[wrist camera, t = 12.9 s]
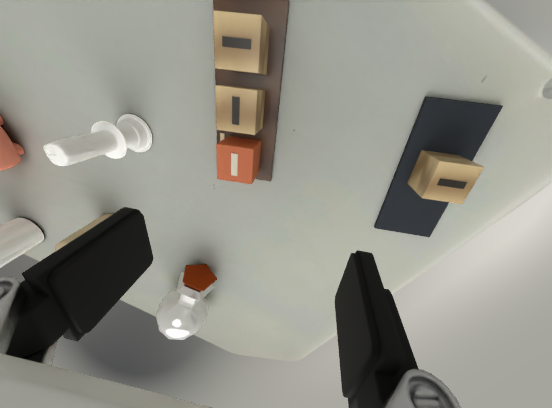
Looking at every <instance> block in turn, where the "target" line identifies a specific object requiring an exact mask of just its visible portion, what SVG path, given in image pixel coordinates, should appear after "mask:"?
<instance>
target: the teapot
mask: <svg viewBox="0 0 552 408" xmlns="http://www.w3.org/2000/svg"><path fill="white" fill-rule="evenodd" d="M3 123H4V122H3V119H2V117H1V116H0V171H1V170H5V169H9V168H12V167H14V166H16V165H17V164H19V163H20V162H21V158H20V155H22V154H24V150H23V148H22V147H21V146H20V145H19V144H17V143H12V142H11V140H10V138H9V137H8V135H7V134H6V133H5V131H4V130H3V128H2V127H1V125H3ZM19 154H20V155H19Z"/></svg>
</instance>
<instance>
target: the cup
mask: <svg viewBox="0 0 552 408" xmlns="http://www.w3.org/2000/svg"><path fill="white" fill-rule="evenodd" d="M43 240H44V235H43V233H42V231H41V230H40V229H39V228H38V227H37V226H36V225H35V224H34V223H32V222H31V221H29V220H27V219H24V218H15V219H13V220H11V221H8V222H6V223H3V224H1V225H0V268H1V267H2V266H4V265H5V264H7V263H8V262H10V261H11V260H13V259H15V258H17V257H18V256H20V255H21V254H23V253H24V252H26V251H28V250H29V249H31V248H32V247H34V246H36V245H37V244H39V243H41V242H43Z"/></svg>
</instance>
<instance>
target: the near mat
mask: <svg viewBox="0 0 552 408" xmlns="http://www.w3.org/2000/svg"><path fill="white" fill-rule="evenodd" d="M502 107H503V106H500V105H492V104H484V103H475V102H467V101H458V100H450V99H442V98H433V97H425V99H424V101H423V104H422V106H421V109H420V112H419V114H418V117H417V119H416V122H415V124H414V127H413V129H412V132H411V134H410V137H409V139H408V142H407V145H406V147H405V150H404V152H403V155H402V157H401V160H400V162H399V165H398V167H397V170H396V172H395V175H394V178H393V180H392V183H391V185H390V188H389V190H388V193H387V195H386V198H385V200H384V203H383V205H382V208H381V211H380V213H379V216H378V218H377V221H376V223H375V226H374V227H375V228H377V229H383V230H390V231H396V232H402V233H408V234H414V235H420V236H426V237H430V235H431V234H432V232H433V230H434V228H435V226H436V225H437V223H438V221H439V219H440V217H441V216H442V214H443V212H444V210H445V209H446V207H447V205H448V203H449V202H444V201H437V200H431V199H424V198H421V197H420V196H419V195H418V194H417V193H416V192H415V191H414V190H413V188H412V187H411V186H410V185H409V184H408V180H409V178H410V176H411V173H412V171H413V169H414V167H415V164H416V162H417V160H418V157H419V155H420V153H421V150H424V151H432V152H439V153H446V154H454V155H460V156H462V157H464V158H466V159H468V160H470V161H472V160H473V159H474V157H475V155H476V153H477V151H478V150H479V148H480V146H481V144H482V142H483V141H484V139H485V137H486V135H487V134H488V132H489V130H490V128H491V126H492V125H493V123H494V121H495V119H496V117H497V116H498V114H499V112H500V110H501V109H502Z"/></svg>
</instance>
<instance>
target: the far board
mask: <svg viewBox="0 0 552 408" xmlns="http://www.w3.org/2000/svg"><path fill="white" fill-rule="evenodd" d="M213 5H214V10H216V11H226V12H236V13H246V14H257V15H262V16H263V18H264V19H265V21H266V22H267V23H268V25H269V26H270V33H269V46H268V60H267V74H266V75H261V74H253V73H244V72H236V71H228V70H223V69H217V68H215V81H216V85H233V86H241V87H249V88H257V89H265V102H264V116H263V128H262V129H261V130H260V131H259V132H258V133H256V134H255V135H251V134H244V133H237V132H230V131H223V130H217V143H219V142H220V141H222V140H223V139H225V138H227V137H228V136H232V137H239V138H246V139H253V140H260V141H261V151H260V166H259V173H258V174H257V176H256V178H255V179H260V180H266V181H271V178H272V168H273V158H274V148H275V138H276V129H277V119H278V109H279V99H280V89H281V79H282V70H283V60H284V50H285V40H286V30H287V20H288V11H289V0H213Z"/></svg>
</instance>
